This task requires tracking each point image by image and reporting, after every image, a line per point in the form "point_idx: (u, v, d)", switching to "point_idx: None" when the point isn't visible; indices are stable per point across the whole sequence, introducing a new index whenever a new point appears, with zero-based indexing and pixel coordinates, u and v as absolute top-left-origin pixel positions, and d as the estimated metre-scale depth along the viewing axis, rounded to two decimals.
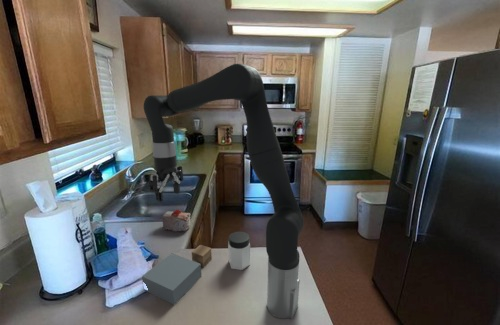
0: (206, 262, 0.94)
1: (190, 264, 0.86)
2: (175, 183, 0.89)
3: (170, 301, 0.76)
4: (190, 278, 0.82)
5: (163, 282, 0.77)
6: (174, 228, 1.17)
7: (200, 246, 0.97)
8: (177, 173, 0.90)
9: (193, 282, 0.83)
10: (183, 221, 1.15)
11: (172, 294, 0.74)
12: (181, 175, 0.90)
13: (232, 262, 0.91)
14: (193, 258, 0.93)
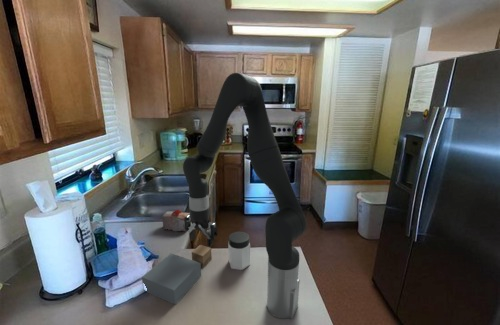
0: (206, 262, 0.94)
1: (189, 263, 0.86)
2: (192, 231, 0.94)
3: (171, 301, 0.76)
4: (191, 278, 0.82)
5: (164, 282, 0.77)
6: (174, 228, 1.17)
7: (200, 246, 0.97)
8: (188, 223, 0.94)
9: (193, 281, 0.84)
10: (183, 221, 1.15)
11: (173, 294, 0.75)
12: None
13: (232, 262, 0.91)
14: (193, 258, 0.93)
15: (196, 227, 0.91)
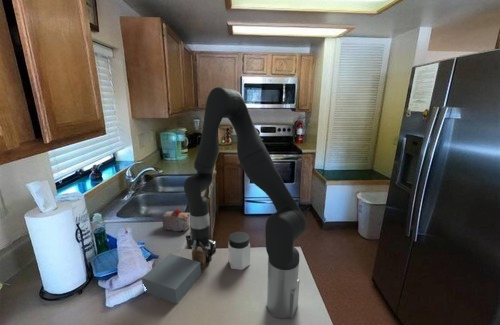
0: None
1: (189, 263, 0.86)
2: None
3: (172, 300, 0.76)
4: (191, 277, 0.82)
5: (165, 282, 0.77)
6: (174, 228, 1.17)
7: None
8: (190, 241, 0.96)
9: (194, 281, 0.84)
10: (183, 221, 1.15)
11: (175, 293, 0.75)
12: None
13: (232, 262, 0.91)
14: (193, 258, 0.93)
15: (198, 244, 0.93)
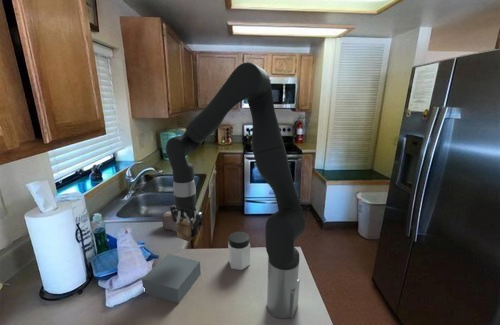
0: None
1: (189, 262, 0.87)
2: None
3: (174, 300, 0.76)
4: (192, 276, 0.83)
5: (166, 282, 0.77)
6: (175, 228, 1.17)
7: None
8: (175, 213, 0.87)
9: (194, 280, 0.84)
10: None
11: (176, 293, 0.75)
12: None
13: (232, 262, 0.91)
14: (178, 231, 0.85)
15: (183, 215, 0.84)
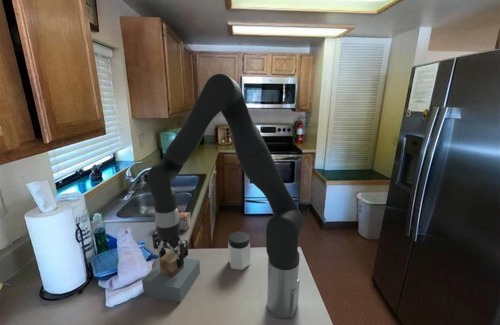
0: (176, 271, 0.81)
1: (188, 262, 0.87)
2: (162, 250, 0.83)
3: (176, 300, 0.76)
4: (192, 275, 0.83)
5: (167, 282, 0.77)
6: None
7: (170, 252, 0.84)
8: (157, 240, 0.82)
9: (194, 279, 0.85)
10: (183, 220, 1.15)
11: (178, 292, 0.75)
12: None
13: (232, 262, 0.91)
14: (161, 266, 0.81)
15: (165, 245, 0.80)
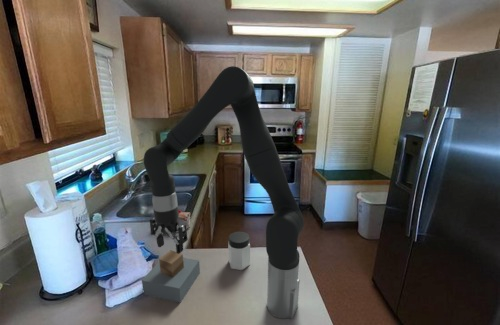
0: (176, 270, 0.81)
1: (188, 262, 0.87)
2: (160, 236, 0.81)
3: (176, 300, 0.76)
4: (192, 275, 0.83)
5: (167, 282, 0.77)
6: None
7: (170, 252, 0.84)
8: (154, 226, 0.81)
9: (194, 279, 0.85)
10: (183, 220, 1.15)
11: (178, 292, 0.75)
12: None
13: (232, 262, 0.91)
14: (161, 266, 0.80)
15: (163, 231, 0.78)
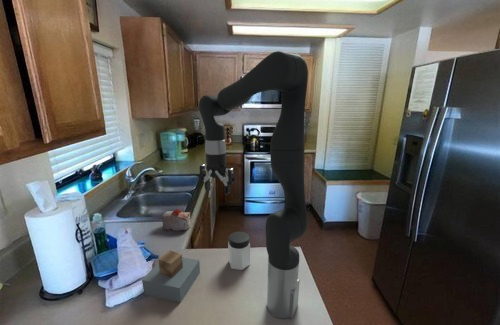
0: (175, 271, 0.81)
1: (188, 261, 0.87)
2: (208, 181, 0.91)
3: (176, 299, 0.77)
4: (192, 275, 0.83)
5: (167, 282, 0.77)
6: (175, 228, 1.17)
7: (169, 252, 0.84)
8: (203, 172, 0.91)
9: (194, 278, 0.85)
10: (183, 220, 1.15)
11: (179, 292, 0.75)
12: None
13: (232, 262, 0.91)
14: (160, 266, 0.80)
15: (212, 175, 0.88)
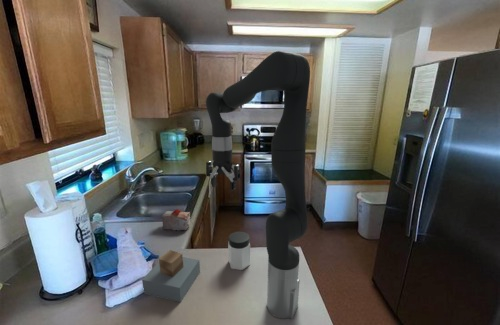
0: (176, 270, 0.81)
1: (188, 261, 0.87)
2: (214, 177, 0.93)
3: (176, 299, 0.77)
4: (192, 275, 0.83)
5: (167, 282, 0.77)
6: (175, 228, 1.17)
7: (170, 252, 0.84)
8: (210, 168, 0.93)
9: (194, 278, 0.85)
10: (183, 220, 1.16)
11: (178, 291, 0.75)
12: None
13: (232, 262, 0.91)
14: (161, 266, 0.81)
15: (219, 171, 0.90)
